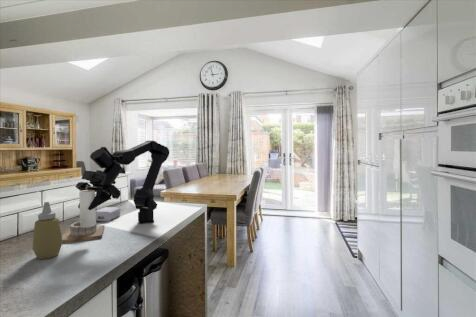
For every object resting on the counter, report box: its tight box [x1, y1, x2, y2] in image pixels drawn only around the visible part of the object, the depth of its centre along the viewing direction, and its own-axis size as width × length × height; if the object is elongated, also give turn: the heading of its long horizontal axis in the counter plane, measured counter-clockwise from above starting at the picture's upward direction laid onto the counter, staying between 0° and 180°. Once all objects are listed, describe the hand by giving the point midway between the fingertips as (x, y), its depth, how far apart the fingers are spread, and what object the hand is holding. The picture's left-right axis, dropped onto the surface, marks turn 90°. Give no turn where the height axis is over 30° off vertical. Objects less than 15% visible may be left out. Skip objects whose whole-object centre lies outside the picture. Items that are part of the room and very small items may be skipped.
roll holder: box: [61, 221, 105, 244], centre depth 104 cm, size 14×14×5 cm
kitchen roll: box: [78, 190, 97, 228], centre depth 95 cm, size 5×5×13 cm
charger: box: [95, 206, 122, 222], centre depth 131 cm, size 5×9×15 cm
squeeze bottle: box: [32, 201, 63, 260], centre depth 84 cm, size 8×8×18 cm
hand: (84, 208), depth 93 cm, fingers closed on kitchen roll, 5 cm apart
